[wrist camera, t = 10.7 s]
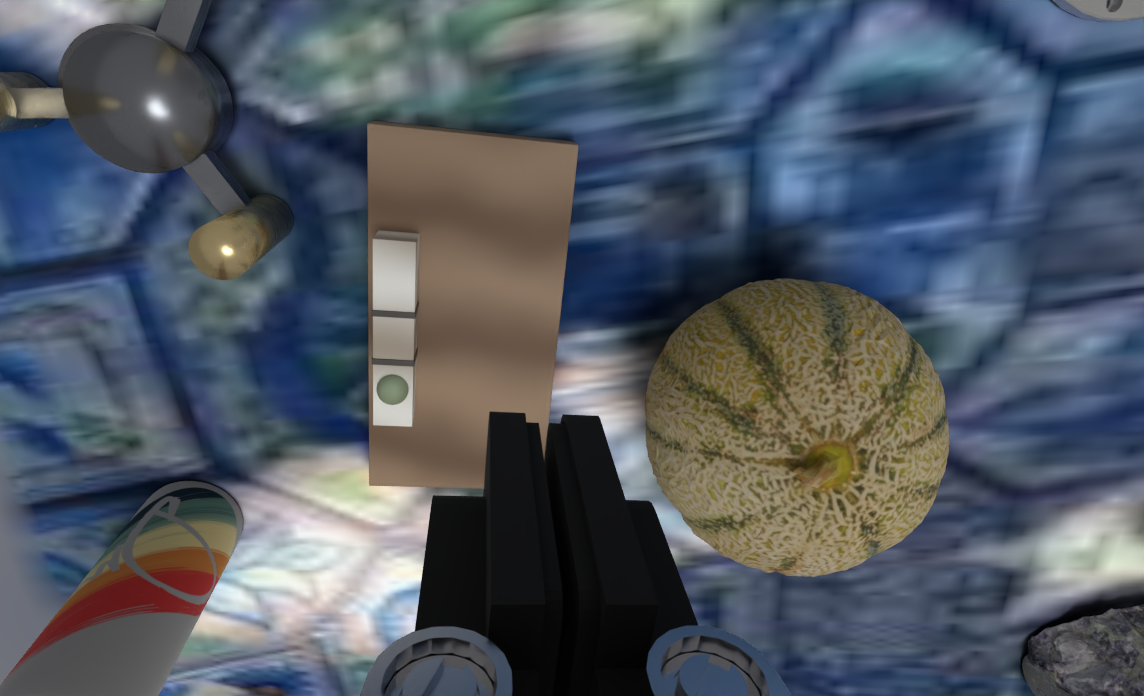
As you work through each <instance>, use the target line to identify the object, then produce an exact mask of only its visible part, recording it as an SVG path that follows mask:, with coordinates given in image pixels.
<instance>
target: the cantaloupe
mask: <svg viewBox="0 0 1144 696" xmlns="http://www.w3.org/2000/svg"><path fill="white" fill-rule="evenodd" d="M645 412H646V442H647V450H648V457H649V460H650V462H651V464H652V468H653V474H654V475H655V476H656V477H657V483H658V484H659V485H660V487H661V489H662V492H663V493H664V495H665V496H666V497H667V498H668V500H669V501H670V502H671V503H672V504H673V505H674V507H675V508H676V509H677V510H678V511H679V512H680V513H681V514H682V517H683V520H684V521H685V522H686V524H687V525H688V526H689V527H690V528H691V529H692V531H693V533H694V534H695V535H696V536H698V537H699V538H701V539H702V540H704V541H705V542H706V543H708V544H709V545H710V546H712V547H713V548H714V549H715V550H716V551H718V552H719V553H720V554H721V555H722V556H725V557H729V558H731V559H732V560H734V561H736V562H738V563H741V564H743V565H746V566H749V567H753V568H758V569H760V570H762V571H764V572H766V573H770V572H779V573H782V574H785V575H788V576H819V575H825V574H831V573H833V572H838V571H841V570H847V569H849V568H851V567H854V566H856V565H859V564H861V563H862V562H864V561H865V560H866V559H867V558H869V557H871V556H874V555H876V554H878V553H880V552H882V551H884V550H886V549H888V548H890V547H892V546H894V545H895V544H897V543H899V542H900V541H902V540H903V539H904V538H905V537H906V536H907V535H909V534H910V533H911V532H912V531H913V530H914V529H915V528H916V527H917V526H918V525H919V524H921V522H922V521H923V519H924V517H925V516H926V514H927V513H928V511H929V510H930V508H931V506H932V504H933V502H934V500H935V497H936V494H937V491H938V487H939V484H940V481H941V478H942V477H943V474H944V472H945V467H946V464H947V457H948V453H949V448H948V445H949V444H950V442H949V429H948V419H947V413H946V408H945V394H944V391H943V386H942V385H941V382H940V380H939V373H938V372H937V371H936V370H935V369H934V368H933V365H932V362H931V361H930V359H929V357H928V356H927V355H926V354H925V352H924V350H923V349H922V347H921V346H920V345H919V344H918V343H917V342H915V340H914V339H913V338H912V337H911V336H910V335H909V333H908V332H907V331H906V330H905V328H904V327H903V325H902V324H901V322H900V320H899V319H898V318H897V317H896V316H895V315H894V314H892V313H891V312H890V311H889V310H888V309H886V308H885V307H884V306H882V305H881V304H880V303H878V301H876V300H874V299H872V298H870V297H868V296H865V295H863V294H862V293H859V292H857V291H855V290H853V289H851V288H849V287H844V286H841V285H838V284H832V283H831V284H830V283H826V282H823V281H822V282H813V281H807V280H795V279H775V280H763V281H756V282H753V283H751V282H749V283H747V284H746V285H744V286H742V287H739V288H736V289H734V290H732V291H731V292H729V293H727V294H725V295H724V296H722V297H721V298H720V299H718V300H716V301H714V302H712V303H709V304H706V305H705V306H703V307H702V308H701V309H699V310H697V311H696V312H695V313H694V314H692V315H691V316H690V317H689V318H687V319H686V320H685V321H684V322H683V323H682V324H681V325H680V326H679V327H678V328H677V329H676V330H675V331H674V332H673V333H672V334H671V336H670V338H669V340H668V342H667V343H666V345H665V347H664V349H663V350H662V352H661V354H660V356H659V358H658V359H657V361H656V362H655V364H654V366H653V369H652V372H651V374H650V377H649V382H648V389H647V391H646V401H645Z"/></svg>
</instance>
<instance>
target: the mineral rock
mask: <svg viewBox="0 0 1144 696" xmlns="http://www.w3.org/2000/svg"><path fill="white" fill-rule="evenodd" d="M1022 668H1023V673H1024V676H1025V679H1026V681H1027V683H1028V685H1029V687H1030V688H1031V690H1032V692H1033V693H1034V694H1035V695H1036V696H1144V604H1142V605H1140V606H1139V605H1137V606H1133V607H1130V608H1123V609H1110V610H1108V611H1107V612H1105V613H1104V614H1103V615H1097V616H1091V617H1082V618H1080V619H1078V620H1074V621H1072V622H1069V623H1063V624H1060V625H1057V626H1055V627H1048V628H1046V629H1044V630H1043V631H1042V632H1040V633H1039V634H1038V635H1037V636H1031V639H1030V640H1029V641H1028V655H1026V656H1025V657H1024V659H1023V662H1022Z"/></svg>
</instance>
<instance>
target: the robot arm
mask: <svg viewBox="0 0 1144 696" xmlns="http://www.w3.org/2000/svg"><path fill="white" fill-rule="evenodd" d="M1052 1H1054V2H1055V3H1056V4H1057V5H1058V6H1059V7H1060V8H1061V9H1063V10H1065V11H1067V12H1069V13H1071V14H1073V15H1075V16H1077V17H1079V18H1083V19H1088V20H1093V21H1097V22H1107V21H1126V20H1133V19H1140V18H1144V0H1052ZM360 696H792V695H791V693H790V692H789V690H788V689H787V687H786V686H785V684H784V683H783V681H782V679H781V678H780V676H779V675H778V673H777V672H776V670H775V669H774V667H773V666H772V665H771V664H770V663H769V661H768V660H767V659H766V658H765V657H764V655H763V654H762V653H761V652H760V651H758V650H757V649H756V648H755V647H753V646H752V645H751V644H749V643H748V642H747V641H745V640H744V639H742V638H740V637H738V636H736V635H734V634H731V633H729V632H727V631H725V630H721V629H717V628H713V627H709V626H698V623H697V621H696V618H695V615H694V613H693V610H692V607H691V605H690V602H689V599H688V597H687V594H686V591H685V589H684V586H683V583H682V581H681V578H680V575H679V573H678V570H677V567H676V565H675V562H674V559H673V557H672V554H671V551H670V549H669V546H668V543H667V541H666V538H665V535H664V533H663V530H662V527H661V525H660V522H659V519H658V517H657V514H656V511H655V509H654V507H653V505H652V503H651V502H649V501H639V500H625V497H624V493H623V490H622V487H621V484H620V481H619V478H618V474H617V471H616V468H615V465H614V462H613V459H612V456H611V452H610V449H609V446H608V443H607V440H606V437H605V433H604V430H603V427H602V424H601V421H600V418H599V416H585V415H563V416H562V419H561V424H556V423H549V425H548V430H547V438H546V447H545V457H544V456H543V449H542V441H541V434H540V427H539V423H532V422H526V415H525V413H515V412H492V411H490V412H489V422H488V436H487V450H486V464H485V478H484V492H483V497H474V496H433V498H432V504H431V512H430V520H429V527H428V535H427V543H426V550H425V558H424V566H423V573H422V581H421V589H420V596H419V604H418V612H417V620H416V627H415V632H412V633H410V634H408V635H406V636H404V637H402V638H400V639H398V640H396V641H395V642H393V643H392V644H391V645H390V646H389V647H388V648H387V649H385V650H384V651H383V652H382V653H381V654H380V655H379V656H378V657H377V659H376V661H375V662H374V664H373V666H372V668H371V669H370V671H369V673H368V675H367V677H366V680H365V683H364V685H363V688H362V690H361V693H360Z"/></svg>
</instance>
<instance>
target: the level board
mask: <svg viewBox="0 0 1144 696" xmlns="http://www.w3.org/2000/svg"><path fill="white" fill-rule="evenodd" d="M367 130H368V327H369V486H409V487H448V488H484V478H485V464H486V450H487V436H488V422H489V412H490V411H492V412H515V413H525V415H526V422H532V423H539V427H540V434H541V441H542V449H543V456H544V457H545V447H546V438H547V430H548V422H549V413H550V404H551V395H552V386H553V376H554V367H555V358H556V349H557V340H558V330H559V321H560V312H561V303H562V294H563V285H564V275H565V266H566V257H567V248H568V239H569V229H570V220H571V211H572V202H573V193H574V183H575V174H576V165H577V156H578V147H579V145H577V144H576V143H575V142H574V141H566V140H556V139H547V138H537V137H527V136H518V135H508V134H499V133H489V132H479V131H470V130H460V129H450V128H441V127H431V126H421V125H412V124H402V123H392V122H383V121H372V122H370V123H368V124H367Z"/></svg>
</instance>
